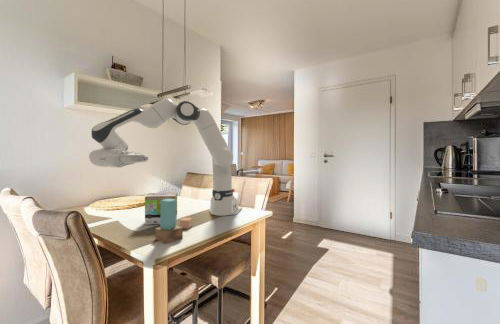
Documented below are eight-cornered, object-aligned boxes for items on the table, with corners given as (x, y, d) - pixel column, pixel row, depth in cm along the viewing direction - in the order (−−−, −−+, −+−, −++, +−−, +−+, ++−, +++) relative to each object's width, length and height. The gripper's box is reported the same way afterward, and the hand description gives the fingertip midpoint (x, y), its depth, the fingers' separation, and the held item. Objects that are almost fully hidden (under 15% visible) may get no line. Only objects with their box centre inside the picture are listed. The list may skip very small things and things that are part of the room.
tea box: (144, 225, 123) (144, 196, 122) (148, 219, 132) (148, 192, 132) (175, 223, 126) (175, 195, 125) (177, 218, 135) (177, 192, 135)
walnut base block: (172, 234, 110) (172, 223, 110) (182, 238, 105) (182, 227, 105) (155, 239, 104) (155, 228, 104) (165, 244, 99) (165, 232, 99)
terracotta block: (183, 225, 123) (183, 217, 123) (192, 225, 123) (192, 217, 123) (180, 228, 119) (180, 220, 119) (189, 228, 118) (188, 220, 118)
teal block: (166, 225, 107) (166, 198, 106) (175, 226, 106) (176, 199, 105) (160, 228, 103) (160, 200, 102) (169, 229, 102) (170, 201, 101)
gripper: (96, 151, 107) (119, 152, 102) (134, 151, 126) (155, 151, 121) (96, 166, 107) (119, 167, 102) (134, 163, 126) (155, 164, 121)
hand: (139, 158), depth 112 cm, fingers open, 8 cm apart
